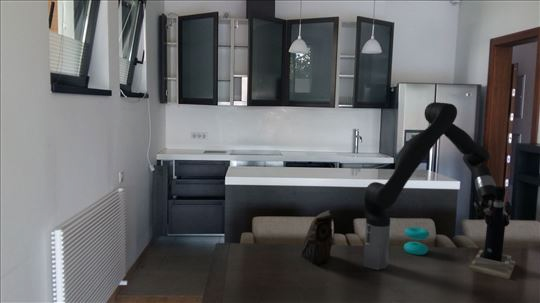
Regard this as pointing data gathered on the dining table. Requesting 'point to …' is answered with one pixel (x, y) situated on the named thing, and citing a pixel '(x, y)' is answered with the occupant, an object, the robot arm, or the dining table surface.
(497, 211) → the wine bottle
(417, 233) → the donuts
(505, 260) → the bottle stand
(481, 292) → the dining table surface
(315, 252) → the owl
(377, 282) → the dining table surface
